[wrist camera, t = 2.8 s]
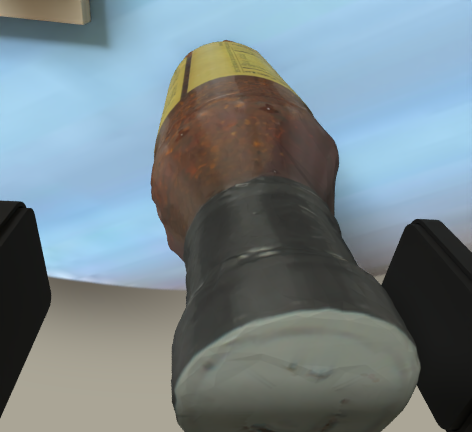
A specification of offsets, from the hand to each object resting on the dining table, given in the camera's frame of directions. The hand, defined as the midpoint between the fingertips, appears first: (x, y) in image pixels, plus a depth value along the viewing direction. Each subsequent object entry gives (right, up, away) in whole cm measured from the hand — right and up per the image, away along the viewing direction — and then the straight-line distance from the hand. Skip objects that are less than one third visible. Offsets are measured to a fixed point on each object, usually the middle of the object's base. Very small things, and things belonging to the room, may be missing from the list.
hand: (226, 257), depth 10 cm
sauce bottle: (0, +9, +13) cm, 16 cm away
